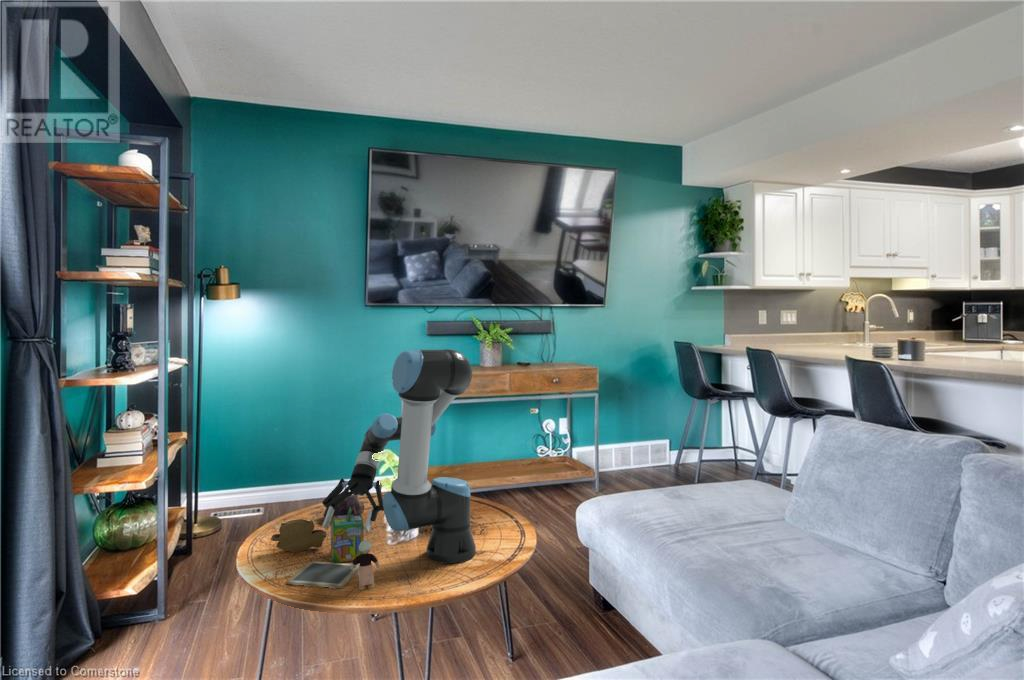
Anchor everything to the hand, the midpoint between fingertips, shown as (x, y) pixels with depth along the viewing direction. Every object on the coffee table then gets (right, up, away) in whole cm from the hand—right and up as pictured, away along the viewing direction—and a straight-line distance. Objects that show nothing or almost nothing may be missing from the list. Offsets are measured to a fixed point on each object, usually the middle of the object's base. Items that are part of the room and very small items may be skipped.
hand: (345, 529), depth 176 cm
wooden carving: (-16, -8, +4) cm, 19 cm away
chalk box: (0, -9, 0) cm, 9 cm away
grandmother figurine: (+11, -9, -21) cm, 26 cm away
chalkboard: (-2, -9, -14) cm, 16 cm away
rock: (-10, -8, +35) cm, 37 cm away
